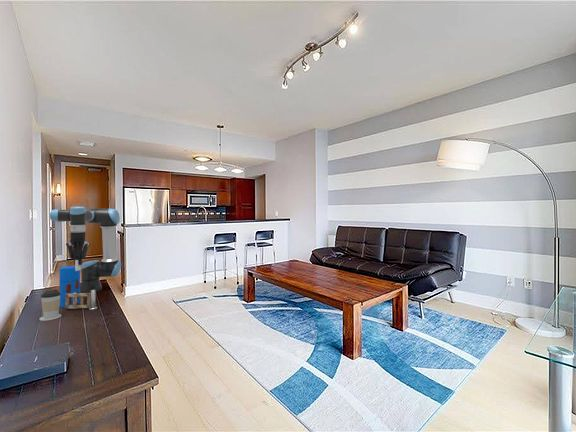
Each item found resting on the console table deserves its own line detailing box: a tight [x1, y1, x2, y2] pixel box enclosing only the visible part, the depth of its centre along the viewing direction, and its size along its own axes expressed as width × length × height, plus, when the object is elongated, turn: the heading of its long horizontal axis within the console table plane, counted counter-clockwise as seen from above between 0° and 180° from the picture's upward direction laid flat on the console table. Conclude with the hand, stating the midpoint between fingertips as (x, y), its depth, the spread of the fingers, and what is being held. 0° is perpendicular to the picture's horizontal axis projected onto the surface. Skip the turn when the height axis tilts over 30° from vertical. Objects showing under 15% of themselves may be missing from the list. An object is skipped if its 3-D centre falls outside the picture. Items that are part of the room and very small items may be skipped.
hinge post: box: [88, 290, 98, 311], centre depth 183 cm, size 4×4×12 cm
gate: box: [64, 293, 91, 310], centre depth 182 cm, size 14×1×9 cm, turn 100°
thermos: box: [58, 265, 81, 308], centre depth 190 cm, size 11×11×25 cm
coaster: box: [39, 313, 62, 322], centre depth 168 cm, size 10×10×1 cm
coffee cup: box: [40, 289, 61, 319], centre depth 168 cm, size 9×9×15 cm
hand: (78, 270), depth 175 cm, fingers closed
